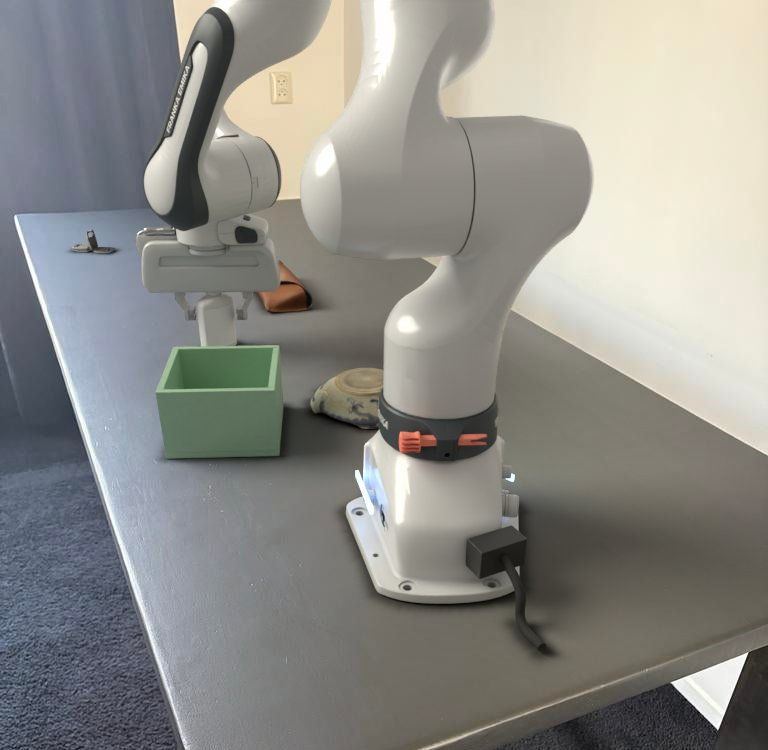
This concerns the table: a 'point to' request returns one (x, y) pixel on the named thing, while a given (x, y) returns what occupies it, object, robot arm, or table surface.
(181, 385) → the bin
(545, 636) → the table surface
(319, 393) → the decorative bowl
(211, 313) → the eye dropper bottle
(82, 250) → the strap clip
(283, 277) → the sunglasses case
